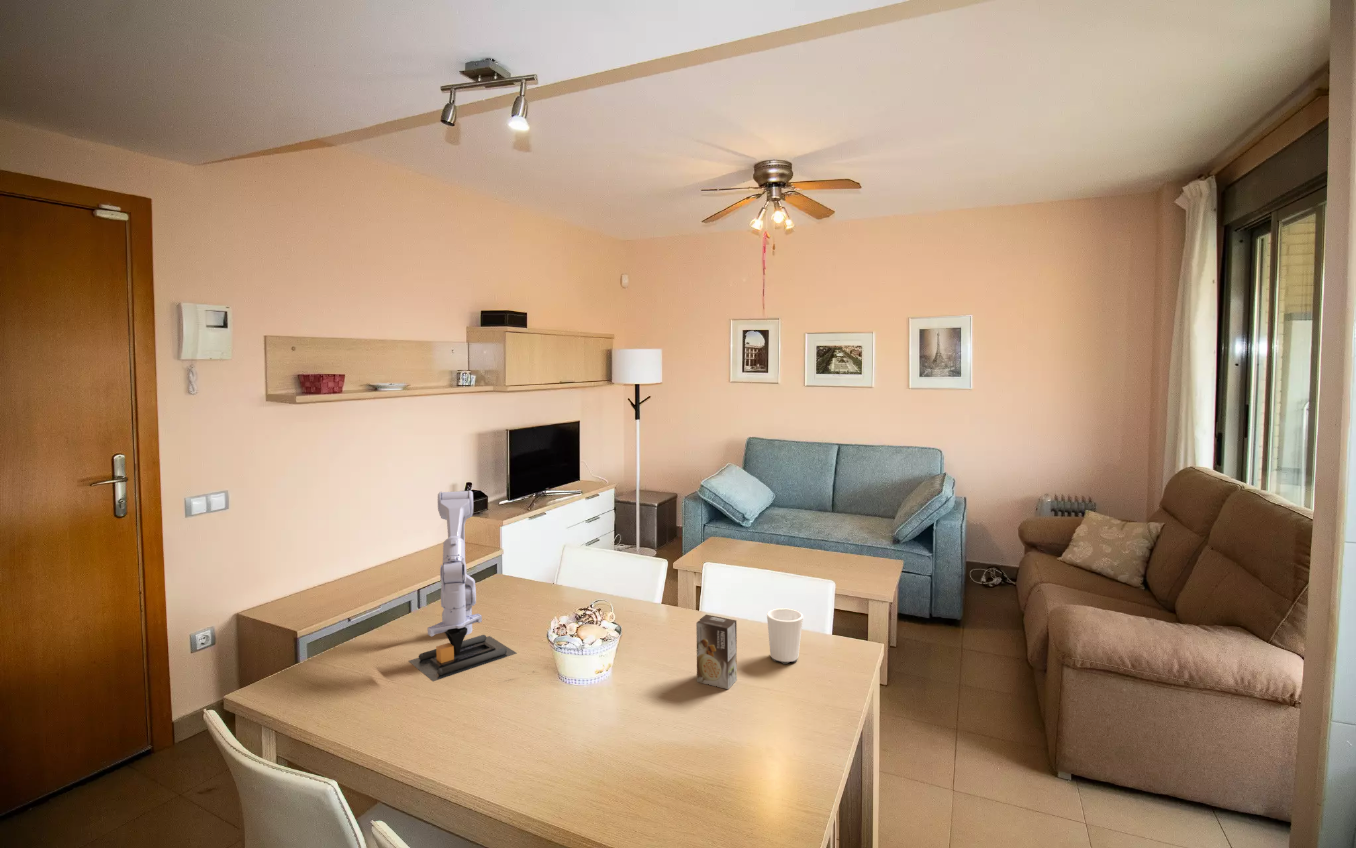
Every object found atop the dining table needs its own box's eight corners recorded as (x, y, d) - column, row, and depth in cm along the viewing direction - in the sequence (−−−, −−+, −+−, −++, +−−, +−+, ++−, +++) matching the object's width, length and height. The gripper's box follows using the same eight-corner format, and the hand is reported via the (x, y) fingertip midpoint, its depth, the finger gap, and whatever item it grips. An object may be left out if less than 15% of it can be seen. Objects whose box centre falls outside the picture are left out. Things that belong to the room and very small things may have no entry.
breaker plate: (408, 666, 183) (408, 657, 183) (489, 641, 200) (489, 632, 200) (433, 687, 172) (432, 677, 172) (517, 658, 188) (517, 649, 188)
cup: (801, 652, 192) (801, 608, 191) (803, 667, 182) (804, 622, 181) (765, 650, 193) (766, 607, 192) (766, 666, 183) (767, 620, 182)
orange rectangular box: (436, 662, 182) (436, 646, 182) (449, 658, 184) (449, 642, 184) (441, 666, 180) (440, 649, 179) (454, 662, 182) (453, 646, 182)
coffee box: (737, 679, 176) (738, 620, 174) (728, 690, 170) (728, 628, 169) (706, 672, 180) (706, 613, 178) (695, 682, 174) (695, 622, 173)
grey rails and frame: (417, 659, 184) (417, 653, 184) (484, 639, 197) (484, 633, 197) (439, 677, 174) (438, 670, 174) (508, 654, 187) (508, 648, 187)
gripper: (434, 616, 175) (436, 667, 176) (486, 602, 185) (487, 650, 186) (423, 609, 180) (425, 658, 181) (474, 596, 190) (475, 642, 191)
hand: (456, 654), depth 184 cm, fingers closed
